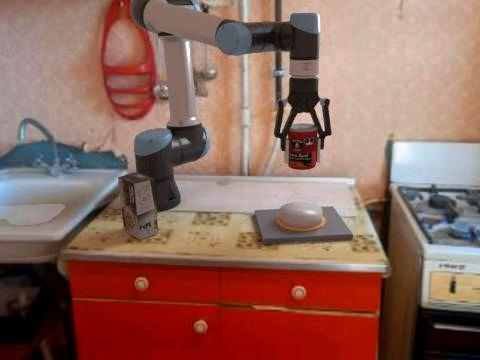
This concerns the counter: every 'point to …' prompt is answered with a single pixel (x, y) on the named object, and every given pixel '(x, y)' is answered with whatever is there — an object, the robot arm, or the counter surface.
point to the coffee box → (138, 205)
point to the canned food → (302, 146)
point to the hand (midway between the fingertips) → (301, 161)
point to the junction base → (292, 236)
